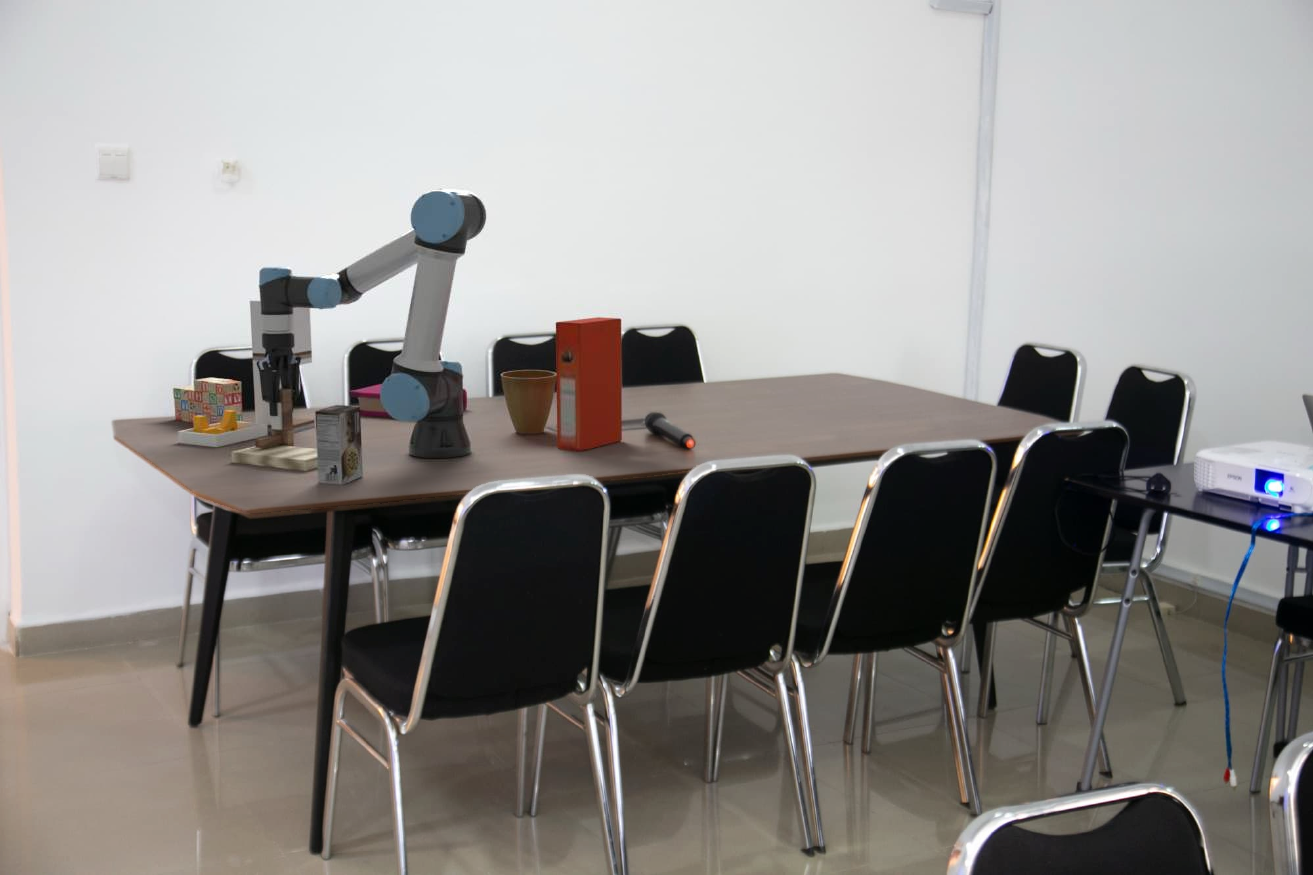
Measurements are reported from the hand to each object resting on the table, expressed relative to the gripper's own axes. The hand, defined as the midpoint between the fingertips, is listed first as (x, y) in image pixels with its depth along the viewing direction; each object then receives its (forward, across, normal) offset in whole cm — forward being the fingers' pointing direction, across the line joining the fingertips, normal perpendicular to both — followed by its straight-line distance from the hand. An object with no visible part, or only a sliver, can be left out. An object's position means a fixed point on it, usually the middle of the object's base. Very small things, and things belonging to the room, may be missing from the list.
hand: (282, 427), depth 311 cm
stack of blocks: (+7, -27, -50) cm, 57 cm away
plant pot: (+7, -54, +38) cm, 66 cm away
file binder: (+7, -45, +61) cm, 76 cm away
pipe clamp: (+7, -10, -30) cm, 32 cm away
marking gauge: (+6, +3, 0) cm, 7 cm away
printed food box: (+7, +17, +31) cm, 36 cm away
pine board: (+7, +7, +7) cm, 12 cm away
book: (+7, -67, -11) cm, 68 cm away
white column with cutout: (+7, -28, -23) cm, 37 cm away
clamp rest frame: (+7, -9, -27) cm, 29 cm away
